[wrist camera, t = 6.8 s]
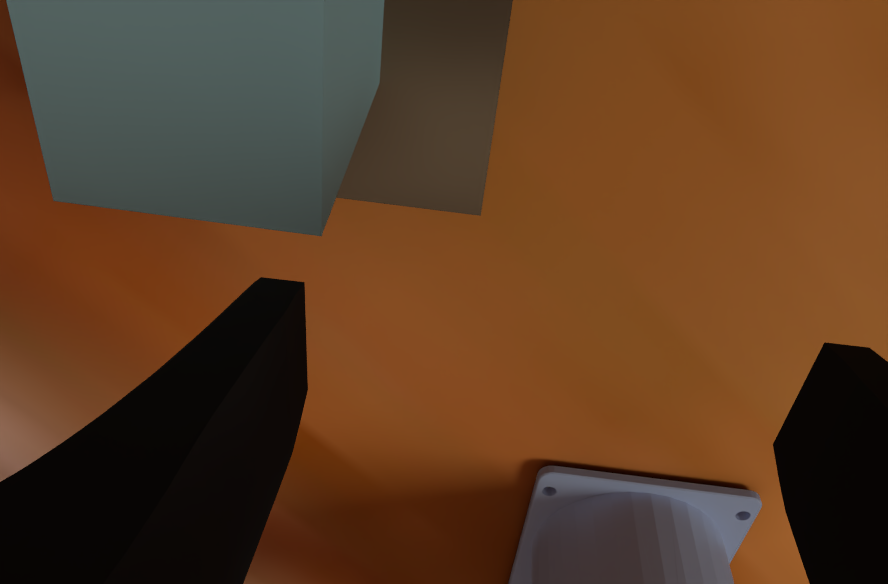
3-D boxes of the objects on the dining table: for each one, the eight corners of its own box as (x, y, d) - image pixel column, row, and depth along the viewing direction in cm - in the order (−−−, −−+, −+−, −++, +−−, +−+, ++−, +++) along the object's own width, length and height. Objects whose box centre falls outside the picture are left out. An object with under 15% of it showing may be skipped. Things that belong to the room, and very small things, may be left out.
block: (379, 82, 16) (321, 236, 11) (191, 58, 16) (53, 200, 11) (391, -130, 14) (324, -51, 9) (170, -161, 14) (-17, -97, 9)
